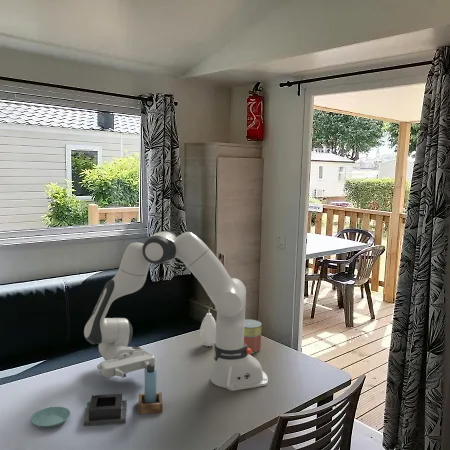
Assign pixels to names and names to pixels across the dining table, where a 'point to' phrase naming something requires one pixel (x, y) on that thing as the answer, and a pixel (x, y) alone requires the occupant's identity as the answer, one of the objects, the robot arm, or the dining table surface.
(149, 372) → the blue bottle
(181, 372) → the dining table surface
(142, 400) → the wooden square frame
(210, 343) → the sauce bottle
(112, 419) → the port
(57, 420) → the saucer
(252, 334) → the canned food
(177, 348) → the dining table surface
